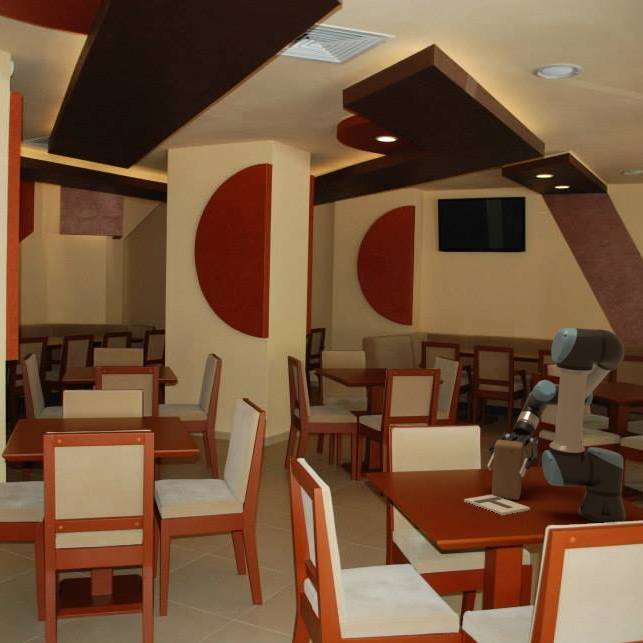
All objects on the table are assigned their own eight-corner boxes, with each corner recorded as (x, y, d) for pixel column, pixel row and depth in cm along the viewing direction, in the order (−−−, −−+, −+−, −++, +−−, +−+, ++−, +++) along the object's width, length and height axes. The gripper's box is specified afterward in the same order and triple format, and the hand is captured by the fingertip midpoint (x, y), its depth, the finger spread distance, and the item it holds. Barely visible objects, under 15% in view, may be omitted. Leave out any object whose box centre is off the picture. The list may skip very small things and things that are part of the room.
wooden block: (519, 501, 283) (522, 446, 282) (491, 497, 286) (494, 443, 285) (520, 494, 292) (523, 441, 291) (493, 491, 296) (496, 438, 294)
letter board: (529, 510, 272) (529, 506, 272) (501, 515, 264) (502, 512, 264) (491, 497, 286) (491, 494, 286) (463, 501, 279) (464, 498, 278)
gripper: (558, 437, 292) (538, 484, 281) (499, 427, 308) (478, 471, 297) (553, 424, 288) (533, 471, 277) (493, 415, 304) (472, 459, 293)
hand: (504, 471), depth 287 cm, fingers closed on wooden block, 12 cm apart
